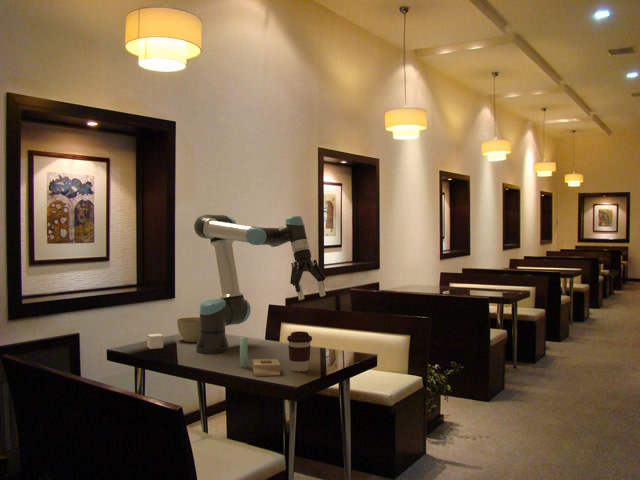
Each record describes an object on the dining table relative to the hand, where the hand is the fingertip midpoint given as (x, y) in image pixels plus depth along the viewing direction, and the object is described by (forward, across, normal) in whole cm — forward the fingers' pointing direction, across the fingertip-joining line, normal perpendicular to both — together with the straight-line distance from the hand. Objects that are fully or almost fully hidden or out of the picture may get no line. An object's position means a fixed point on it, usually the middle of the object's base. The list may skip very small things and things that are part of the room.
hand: (312, 297), depth 243 cm
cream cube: (+3, -33, +76) cm, 83 cm away
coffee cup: (+28, -17, 0) cm, 33 cm away
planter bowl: (+4, -11, +78) cm, 79 cm away
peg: (+21, -30, +19) cm, 41 cm away
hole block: (+25, -29, +7) cm, 39 cm away
